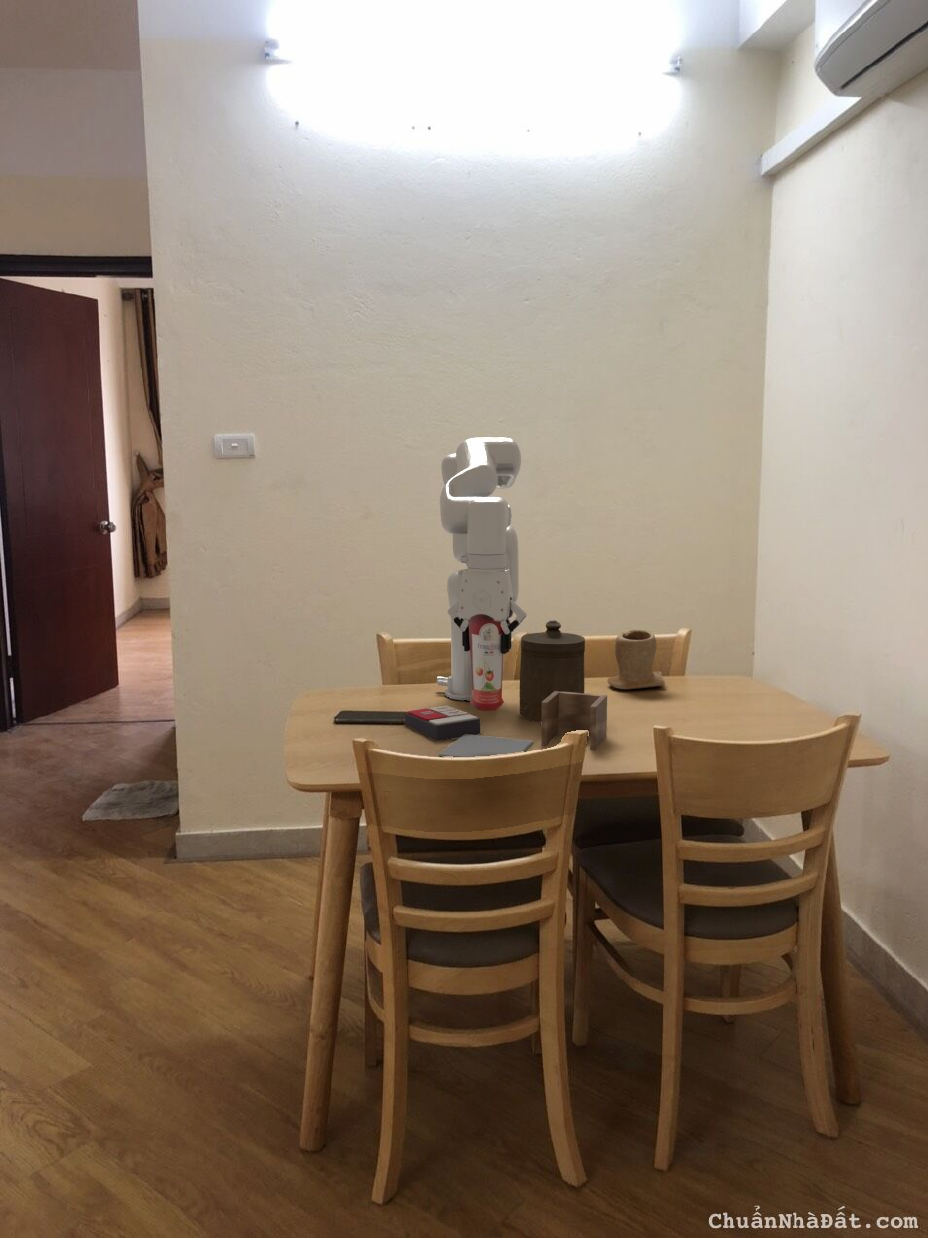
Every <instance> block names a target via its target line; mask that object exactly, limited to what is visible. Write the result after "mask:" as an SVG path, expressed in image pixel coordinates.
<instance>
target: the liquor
mask: <svg viewBox="0 0 928 1238" xmlns="http://www.w3.org/2000/svg"><path fill="white" fill-rule="evenodd" d="M468 624H469V644H470V658H471V677H472V699H471V701H469V704H470V705H471V706H473V707H474V708H475V709H476V710H477V711H480V712H493V711H497V710H499V709H500V708H501V706H503V704H504V703H505V701H504V698H503V695H502V694H503V669H504V668H503V667H504V665H503V664H504V663H503V662H504V654H502V653H501V635H502V634H503V629H502V627H501V622H496V621H494V619H493V618H492V617H490V616H488V615H485V614H477V615H474V616H472V617H470V620H468Z"/></svg>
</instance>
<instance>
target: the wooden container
mask: <svg viewBox="0 0 928 1238" xmlns="http://www.w3.org/2000/svg"><path fill="white" fill-rule="evenodd" d="M545 628H546V630H545V631H543V632H532V633H526V634H524V635H522V636H521V639H520V665H519V667H520V669H519V671H520V672H519V715H520V716H521V718H524V719H526V720H528V721H531V722H538V723H541V717H542V701H544V700H545V699H546V698H547V697H548V696H550V695H551V694H552V693H553V692H554V691H561V692H573V693H585V650H586V638H585V637H584V636H582V635H579V634H574V633H569V632H562V631H561V630H560V629H561V628H562V625H561V623H560V622H558V621H557V620H556V619H555V620H549V621H548V622H546V623H545Z"/></svg>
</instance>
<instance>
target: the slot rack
mask: <svg viewBox="0 0 928 1238" xmlns="http://www.w3.org/2000/svg"><path fill="white" fill-rule="evenodd" d="M607 717H608V695H607V694H597V693H595V694H594V693H586V692H584V693H573V692H561V691H554V692H553V693H552V694H551V695H550V696H548V697H547V698H546V699H545V700H544V701H542V717H541V722H540V723H541V724H540V725H541V733H540V734H541V735H540V736H541V737H540V738H541V739H540V741H541V742H540V745H543V746H547V745H549V744H550V743H551V741H553V740H554V739H555V737H556V736H557V735H559V734H560V735H566V734H565V733H567V732H571V731H576V730H588V731H589V750H593V751H596V750H597V749H598V748H599V747H600V745H601V744H602V743H603V742H604V740H605V739H606V738H607V732H608V731H607V728H608V727H607V723H608V722H607V721H608V718H607Z"/></svg>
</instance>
